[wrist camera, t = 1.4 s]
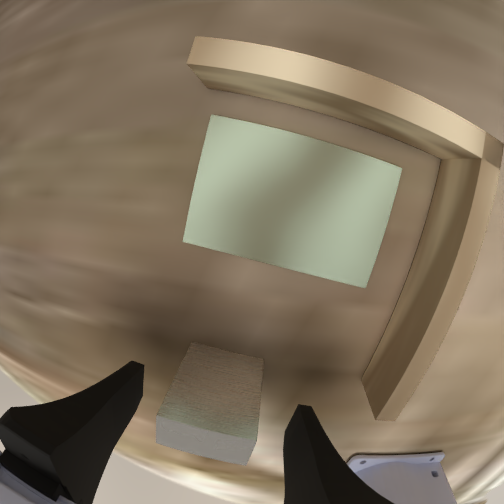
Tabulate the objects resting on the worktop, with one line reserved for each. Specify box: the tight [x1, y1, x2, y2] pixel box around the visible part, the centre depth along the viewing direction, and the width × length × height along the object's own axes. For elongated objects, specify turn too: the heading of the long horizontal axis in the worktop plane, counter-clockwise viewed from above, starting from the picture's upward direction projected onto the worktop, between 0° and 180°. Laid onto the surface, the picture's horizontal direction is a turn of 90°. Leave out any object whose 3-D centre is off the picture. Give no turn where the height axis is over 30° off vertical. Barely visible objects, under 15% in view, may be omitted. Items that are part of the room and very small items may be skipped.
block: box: [156, 342, 264, 466], centre depth 14 cm, size 7×4×6 cm, turn 167°
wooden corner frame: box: [183, 36, 504, 421], centre depth 12 cm, size 13×14×4 cm
